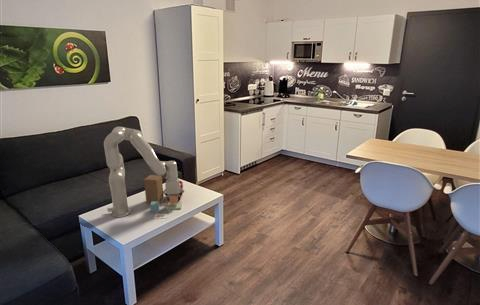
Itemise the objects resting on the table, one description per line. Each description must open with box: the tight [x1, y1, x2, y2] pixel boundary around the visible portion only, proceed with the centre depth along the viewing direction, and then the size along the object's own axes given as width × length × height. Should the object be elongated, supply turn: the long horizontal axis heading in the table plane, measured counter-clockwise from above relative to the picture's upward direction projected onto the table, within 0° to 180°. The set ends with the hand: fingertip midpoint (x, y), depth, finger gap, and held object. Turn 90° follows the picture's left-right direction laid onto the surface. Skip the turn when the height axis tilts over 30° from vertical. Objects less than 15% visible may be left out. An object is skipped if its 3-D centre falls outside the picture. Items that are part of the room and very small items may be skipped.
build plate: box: [166, 201, 183, 211], centre depth 229 cm, size 10×10×1 cm
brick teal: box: [149, 201, 160, 214], centre depth 222 cm, size 5×5×6 cm
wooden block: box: [143, 174, 165, 205], centre depth 233 cm, size 10×10×20 cm
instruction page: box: [153, 213, 168, 220], centre depth 215 cm, size 8×6×1 cm
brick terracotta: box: [168, 194, 178, 204], centre depth 227 cm, size 6×6×6 cm
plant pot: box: [164, 179, 184, 198], centre depth 242 cm, size 13×13×12 cm
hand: (174, 201), depth 228 cm, fingers closed on brick terracotta, 6 cm apart
